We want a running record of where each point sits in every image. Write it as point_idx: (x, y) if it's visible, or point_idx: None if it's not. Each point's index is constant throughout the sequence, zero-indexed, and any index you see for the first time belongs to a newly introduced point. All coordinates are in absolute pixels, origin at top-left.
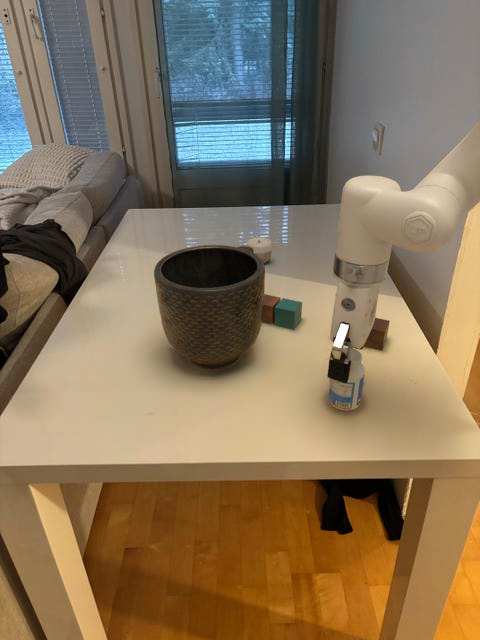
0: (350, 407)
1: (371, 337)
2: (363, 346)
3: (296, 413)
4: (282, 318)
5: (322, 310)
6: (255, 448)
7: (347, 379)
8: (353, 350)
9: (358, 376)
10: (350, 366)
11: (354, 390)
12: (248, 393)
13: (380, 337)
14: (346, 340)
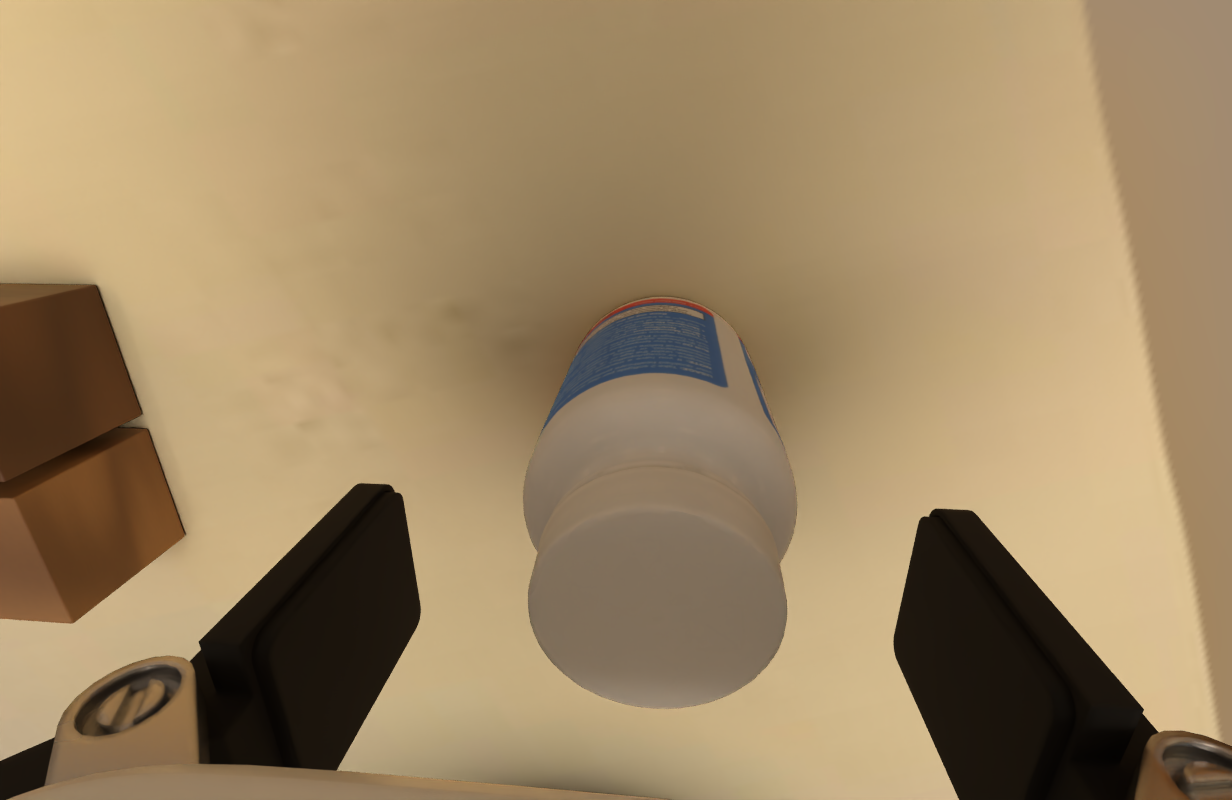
0: (741, 342)
1: (48, 384)
2: (363, 493)
3: (846, 560)
4: None
5: (3, 638)
6: (1133, 647)
7: (985, 530)
8: (565, 598)
9: (747, 420)
10: (1033, 629)
11: (750, 380)
12: (780, 749)
13: (8, 333)
14: (396, 653)
